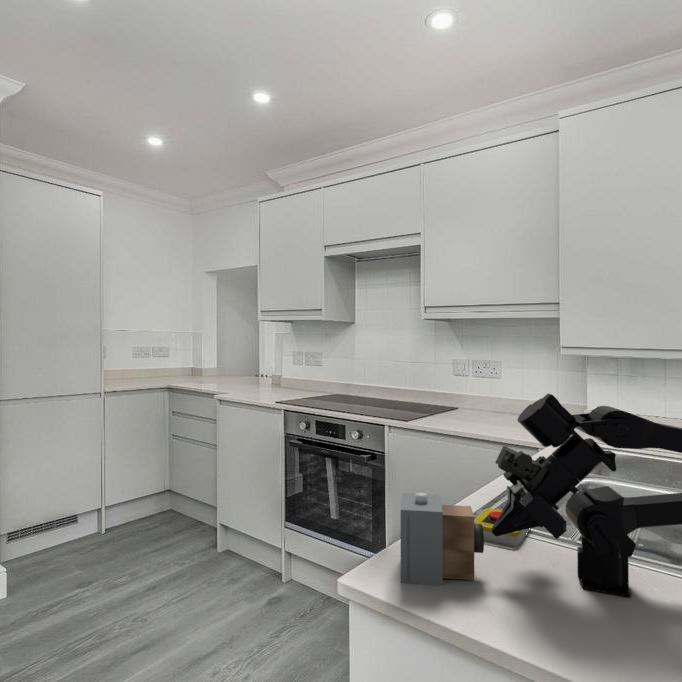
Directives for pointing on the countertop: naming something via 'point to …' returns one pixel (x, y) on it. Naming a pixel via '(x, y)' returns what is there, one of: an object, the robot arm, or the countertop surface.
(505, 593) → the countertop surface
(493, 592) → the countertop surface
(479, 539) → the plunger
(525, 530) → the emergency button
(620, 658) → the countertop surface
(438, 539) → the housing
